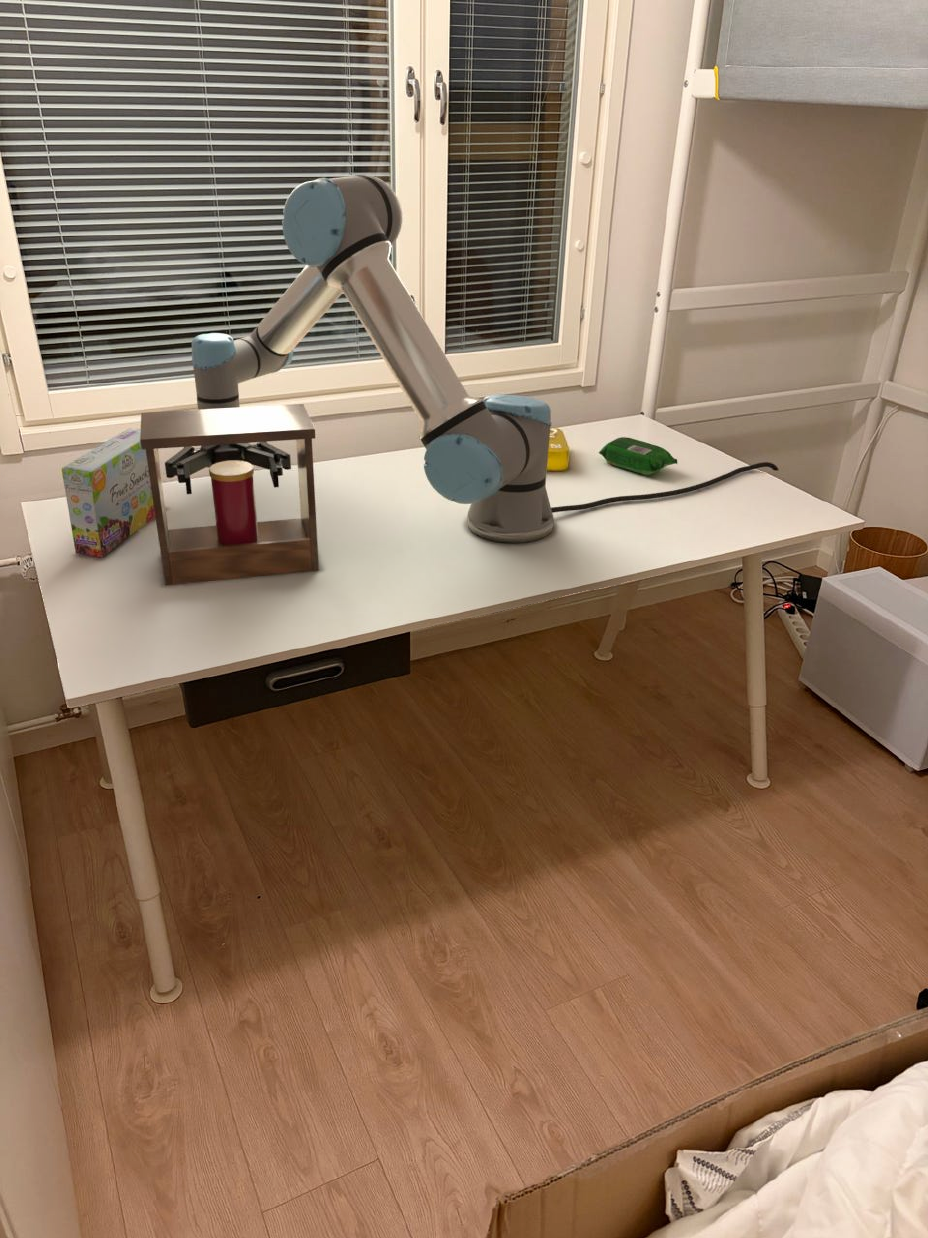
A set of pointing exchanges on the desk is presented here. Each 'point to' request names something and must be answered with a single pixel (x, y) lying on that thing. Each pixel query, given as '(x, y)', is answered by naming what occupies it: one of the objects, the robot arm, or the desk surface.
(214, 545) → the shelf
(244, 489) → the cylinder
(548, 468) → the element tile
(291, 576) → the desk surface
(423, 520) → the desk surface
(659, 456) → the snack package
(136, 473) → the snack box
